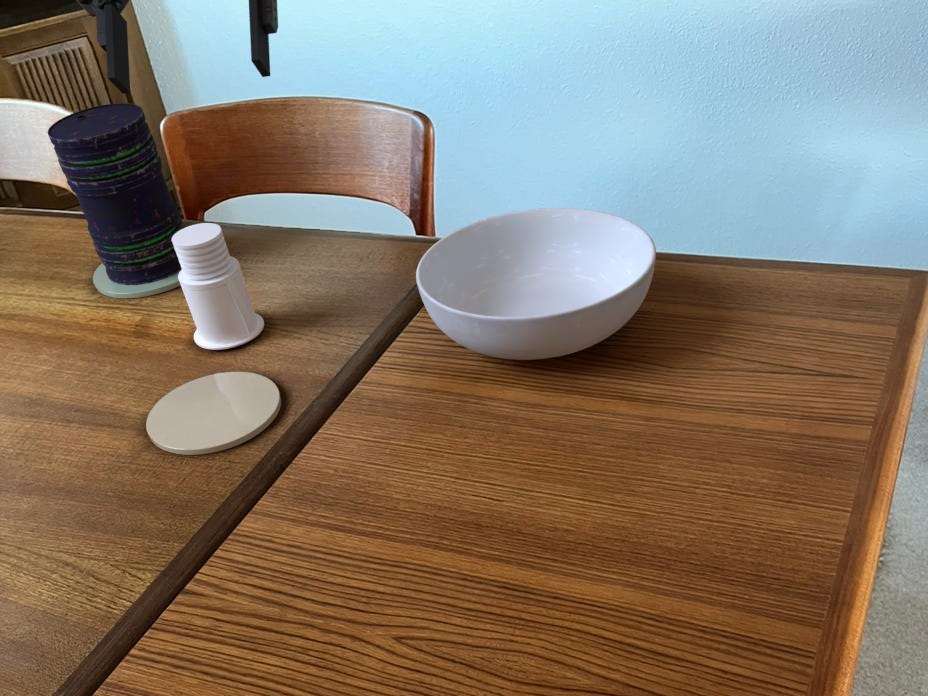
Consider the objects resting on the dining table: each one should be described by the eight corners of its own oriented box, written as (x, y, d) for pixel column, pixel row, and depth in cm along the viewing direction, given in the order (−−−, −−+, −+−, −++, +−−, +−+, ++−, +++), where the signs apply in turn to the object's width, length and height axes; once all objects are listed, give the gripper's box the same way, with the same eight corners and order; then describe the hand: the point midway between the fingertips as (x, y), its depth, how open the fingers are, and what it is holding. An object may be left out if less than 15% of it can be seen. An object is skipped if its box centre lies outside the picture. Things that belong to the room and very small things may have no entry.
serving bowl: (699, 343, 84) (703, 267, 79) (479, 420, 80) (468, 345, 75) (589, 253, 98) (586, 184, 93) (397, 315, 94) (383, 246, 89)
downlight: (178, 340, 96) (140, 241, 89) (231, 308, 99) (199, 210, 92) (228, 360, 92) (193, 259, 85) (282, 326, 95) (252, 226, 88)
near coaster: (128, 457, 83) (125, 451, 82) (175, 379, 91) (172, 373, 90) (260, 453, 81) (258, 447, 80) (296, 374, 89) (294, 368, 88)
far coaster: (76, 301, 105) (73, 296, 104) (120, 246, 114) (118, 241, 113) (187, 295, 103) (185, 289, 102) (224, 239, 111) (222, 234, 111)
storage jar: (211, 255, 107) (163, 110, 96) (138, 294, 103) (79, 146, 92) (161, 236, 113) (110, 97, 102) (89, 272, 108) (28, 131, 97)
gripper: (324, -152, 89) (334, 83, 90) (72, -113, 92) (84, 113, 93) (297, -220, 82) (308, 36, 82) (24, -175, 85) (37, 70, 86)
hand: (189, 77), depth 88 cm, fingers open, 13 cm apart
